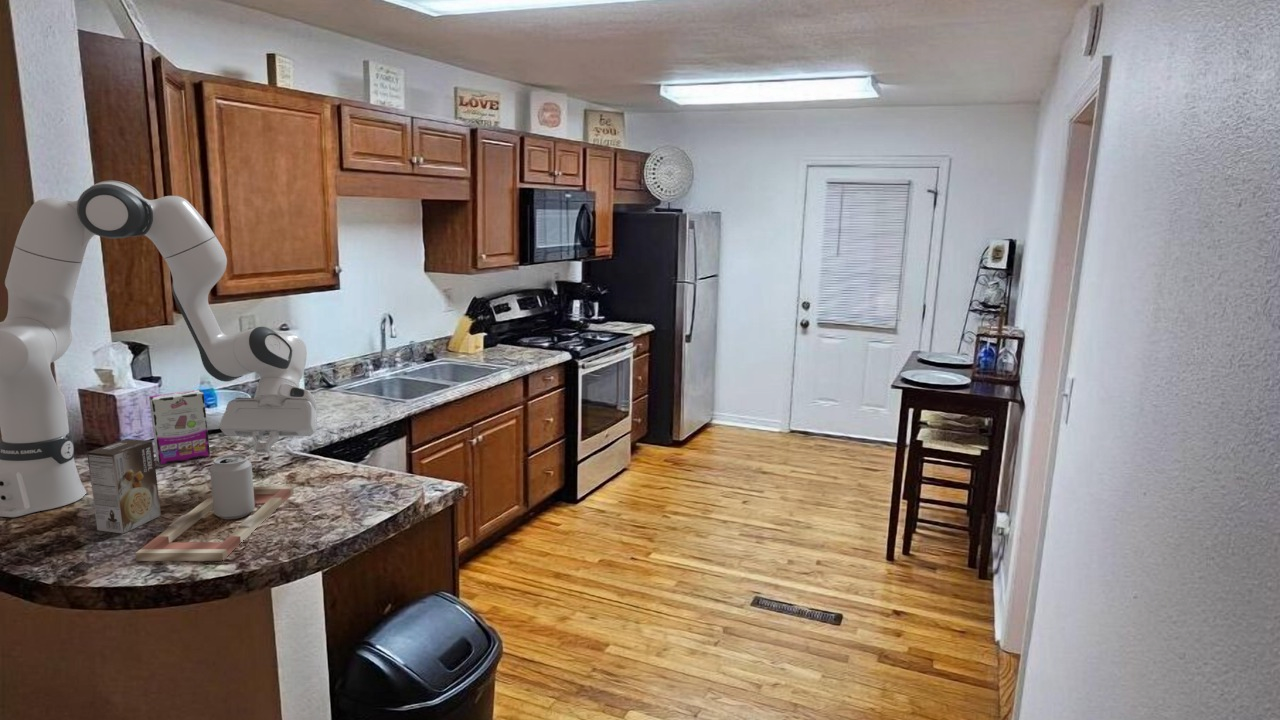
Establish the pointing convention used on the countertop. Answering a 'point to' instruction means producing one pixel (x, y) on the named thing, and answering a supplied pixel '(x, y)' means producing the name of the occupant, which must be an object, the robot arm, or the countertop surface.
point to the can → (232, 486)
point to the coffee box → (124, 485)
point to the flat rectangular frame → (211, 551)
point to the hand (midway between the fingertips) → (261, 451)
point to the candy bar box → (179, 426)
